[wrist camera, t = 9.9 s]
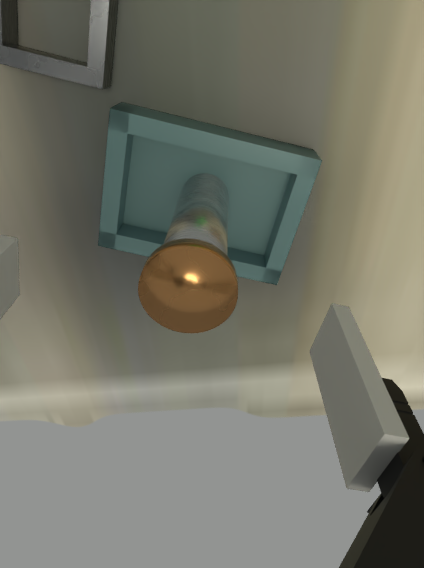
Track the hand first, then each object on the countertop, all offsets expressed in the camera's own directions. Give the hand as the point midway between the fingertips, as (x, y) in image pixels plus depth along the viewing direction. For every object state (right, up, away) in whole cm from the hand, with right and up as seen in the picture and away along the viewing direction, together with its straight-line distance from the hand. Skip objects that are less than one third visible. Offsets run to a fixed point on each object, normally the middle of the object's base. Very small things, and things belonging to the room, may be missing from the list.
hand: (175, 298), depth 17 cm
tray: (+1, +7, +13) cm, 15 cm away
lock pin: (+1, +7, +12) cm, 14 cm away
